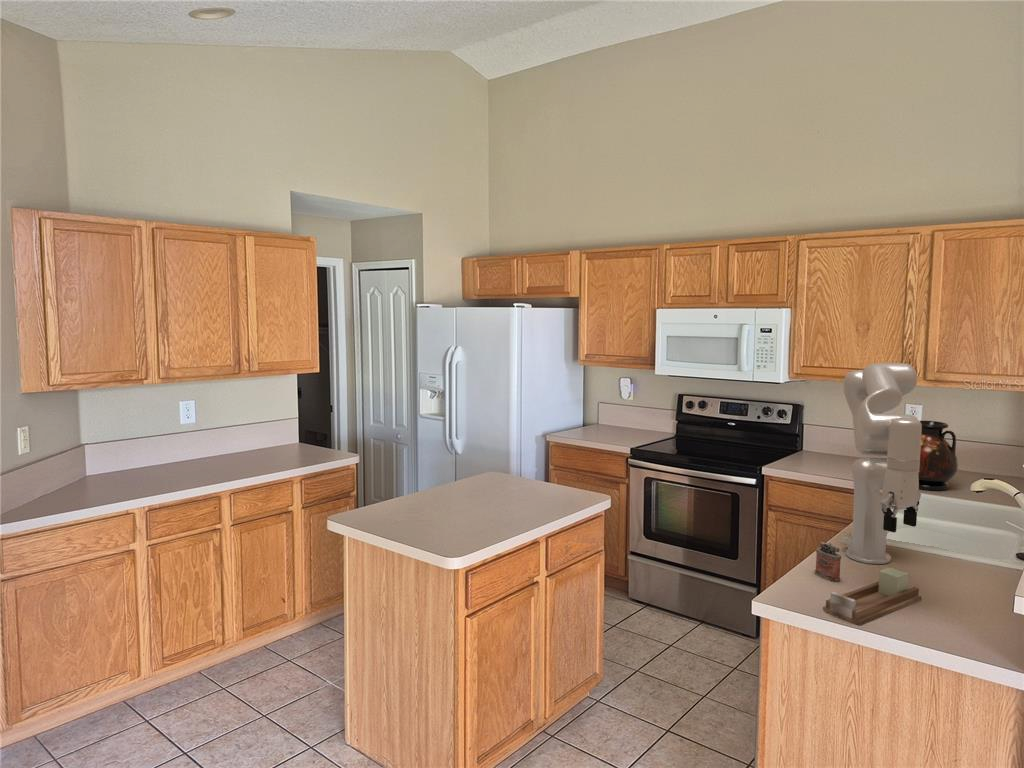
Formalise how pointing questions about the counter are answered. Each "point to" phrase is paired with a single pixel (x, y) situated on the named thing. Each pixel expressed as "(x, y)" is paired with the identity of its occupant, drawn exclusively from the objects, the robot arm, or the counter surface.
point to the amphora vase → (936, 457)
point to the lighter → (828, 562)
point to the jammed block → (892, 581)
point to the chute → (868, 603)
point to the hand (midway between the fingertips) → (899, 528)
